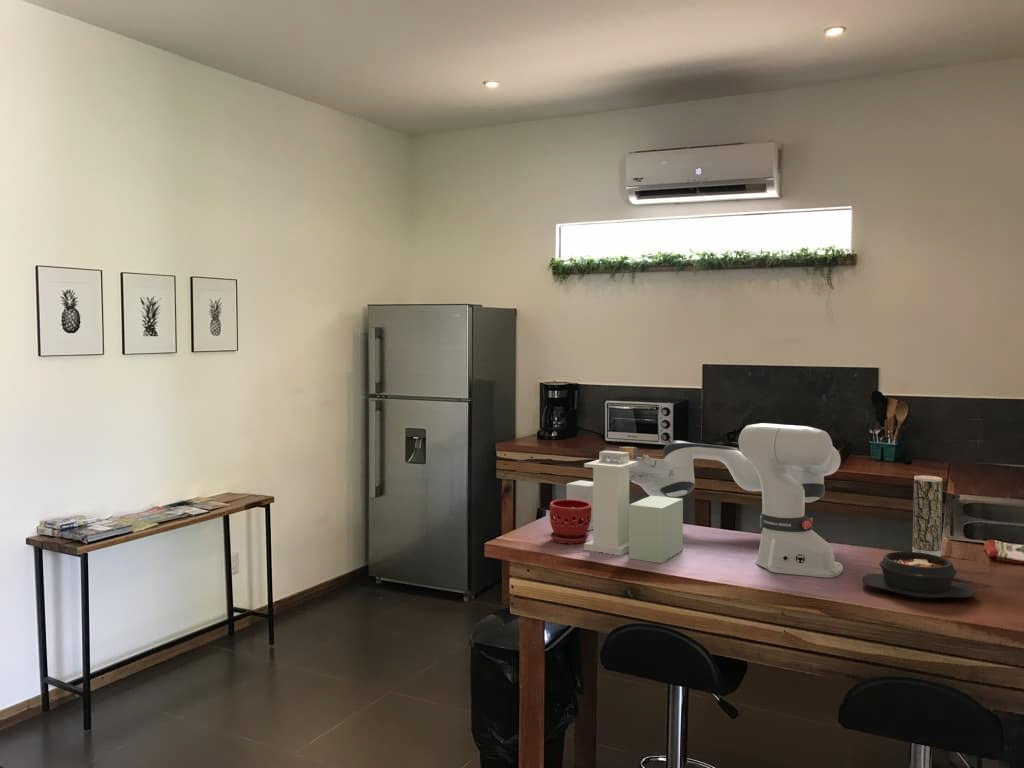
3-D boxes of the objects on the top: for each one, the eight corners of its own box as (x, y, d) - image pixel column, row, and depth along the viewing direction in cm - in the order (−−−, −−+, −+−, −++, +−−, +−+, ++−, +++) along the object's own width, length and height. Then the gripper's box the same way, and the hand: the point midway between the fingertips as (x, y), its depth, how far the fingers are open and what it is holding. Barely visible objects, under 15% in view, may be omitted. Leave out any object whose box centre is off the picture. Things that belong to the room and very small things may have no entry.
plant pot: (553, 546, 241) (553, 507, 240) (546, 536, 254) (546, 499, 253) (595, 545, 243) (595, 506, 242) (586, 535, 256) (586, 498, 255)
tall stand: (637, 546, 240) (638, 451, 239) (621, 555, 230) (621, 456, 229) (602, 541, 247) (602, 449, 245) (584, 550, 237) (584, 453, 235)
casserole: (860, 597, 192) (861, 563, 191) (861, 576, 209) (862, 545, 208) (980, 611, 182) (981, 575, 181) (970, 588, 198) (971, 555, 198)
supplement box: (603, 526, 268) (603, 482, 267) (588, 531, 261) (588, 486, 260) (581, 522, 273) (580, 479, 273) (565, 527, 266) (565, 483, 266)
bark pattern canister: (925, 573, 211) (927, 480, 210) (906, 566, 217) (908, 476, 216) (946, 571, 213) (948, 479, 211) (926, 564, 219) (928, 475, 218)
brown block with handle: (637, 458, 248) (637, 447, 248) (617, 462, 236) (618, 450, 236) (624, 457, 250) (624, 446, 250) (605, 461, 238) (605, 449, 238)
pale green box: (682, 550, 236) (682, 498, 235) (661, 563, 222) (662, 508, 222) (651, 546, 241) (651, 495, 240) (629, 558, 228) (629, 504, 227)
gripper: (674, 484, 254) (659, 468, 243) (615, 479, 265) (599, 463, 254) (677, 466, 256) (663, 449, 246) (620, 461, 267) (604, 444, 257)
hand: (630, 456), depth 250 cm, fingers open, 8 cm apart
